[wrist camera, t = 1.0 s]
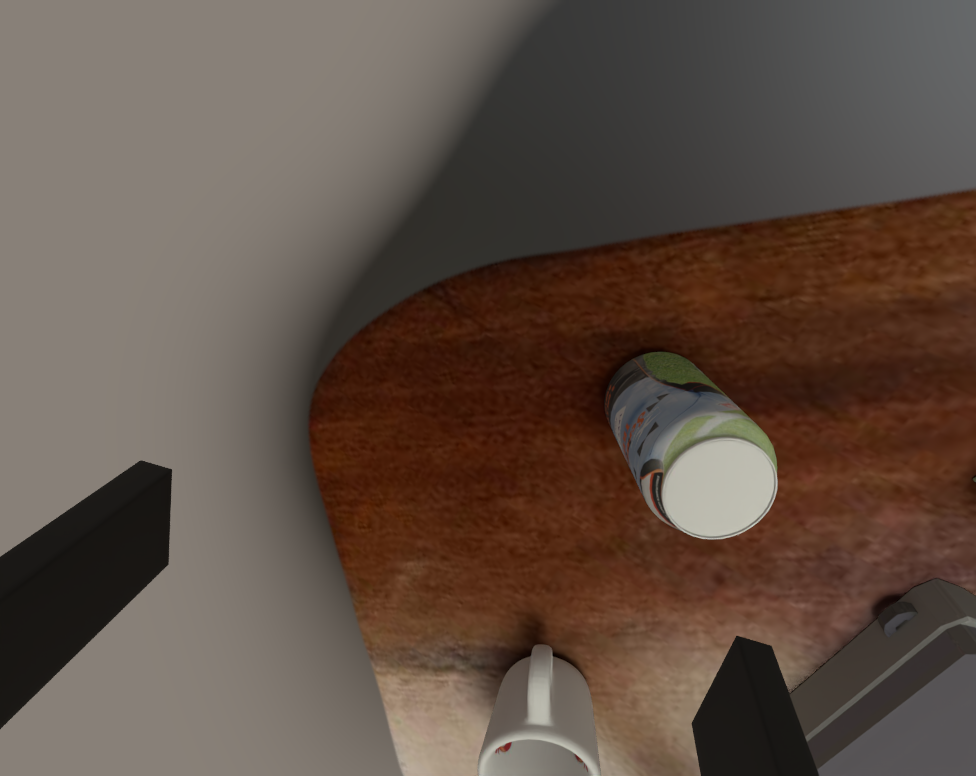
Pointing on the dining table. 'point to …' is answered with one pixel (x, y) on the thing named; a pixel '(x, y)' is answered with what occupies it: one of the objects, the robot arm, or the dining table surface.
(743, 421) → the beverage can
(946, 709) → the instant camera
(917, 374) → the dining table surface
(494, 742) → the cup
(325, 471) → the dining table surface
